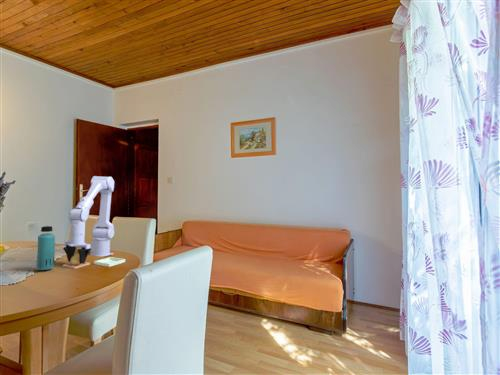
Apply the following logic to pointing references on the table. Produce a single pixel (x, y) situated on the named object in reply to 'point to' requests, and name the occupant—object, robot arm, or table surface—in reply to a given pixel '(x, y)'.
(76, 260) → the ball
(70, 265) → the dish
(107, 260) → the tray
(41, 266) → the beverage bottle
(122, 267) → the table surface
